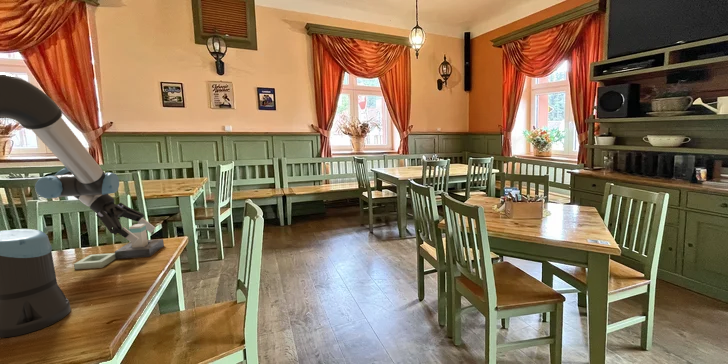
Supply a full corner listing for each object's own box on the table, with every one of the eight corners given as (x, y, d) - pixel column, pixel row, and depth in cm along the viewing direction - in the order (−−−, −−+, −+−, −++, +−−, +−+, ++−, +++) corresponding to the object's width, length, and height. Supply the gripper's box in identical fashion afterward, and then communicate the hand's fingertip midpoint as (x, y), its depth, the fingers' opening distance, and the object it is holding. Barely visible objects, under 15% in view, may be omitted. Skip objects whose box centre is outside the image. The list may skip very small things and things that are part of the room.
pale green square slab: (102, 267, 121) (101, 261, 121) (74, 269, 120) (73, 263, 120) (117, 257, 130) (116, 252, 130) (91, 259, 129) (90, 254, 129)
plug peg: (144, 253, 134) (140, 226, 132) (132, 254, 133) (128, 227, 132) (149, 250, 138) (145, 223, 136) (138, 250, 137) (134, 224, 136)
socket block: (150, 256, 130) (149, 249, 130) (116, 259, 129) (114, 251, 128) (163, 245, 142) (163, 239, 142) (132, 248, 141) (131, 241, 140)
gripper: (110, 200, 143) (153, 232, 147) (67, 215, 118) (121, 253, 123) (122, 187, 143) (165, 220, 147) (82, 199, 118) (134, 238, 123)
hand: (145, 235), depth 135 cm, fingers open, 13 cm apart
